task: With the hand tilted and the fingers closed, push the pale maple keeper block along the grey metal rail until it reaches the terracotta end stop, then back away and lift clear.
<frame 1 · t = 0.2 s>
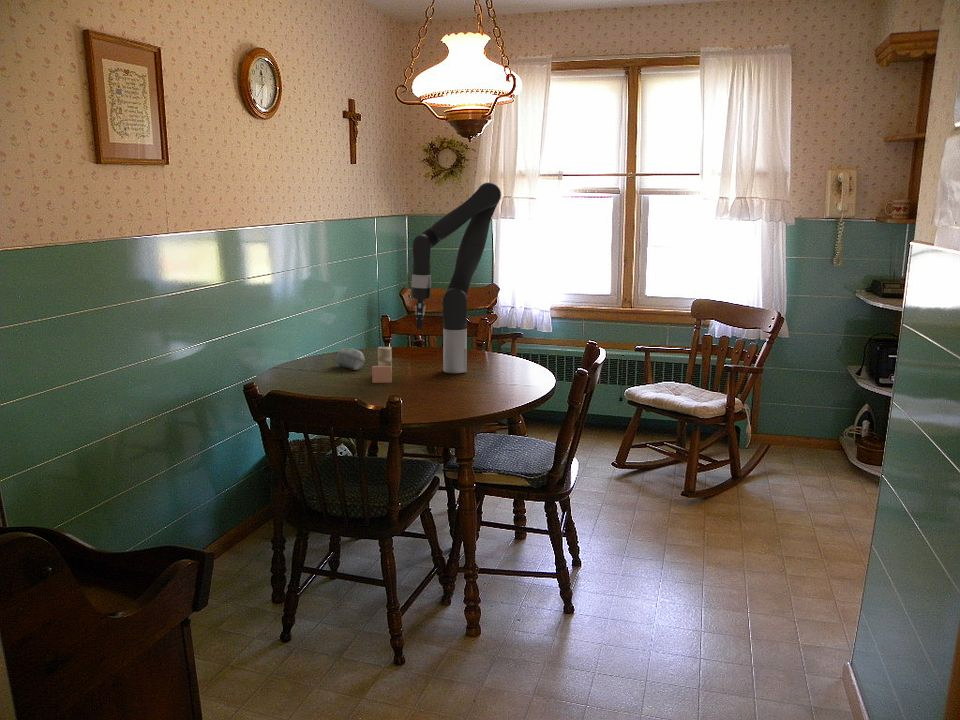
hand: (419, 327, 303), 18 cm above the table, fingers open, 8 cm apart
keeper: (384, 361, 297), point 6 cm above the table, slide at 0.0 cm
grey rounded lump: (350, 368, 310), on the table
rail: (384, 377, 294), on the table
end stop: (382, 382, 287), on the table
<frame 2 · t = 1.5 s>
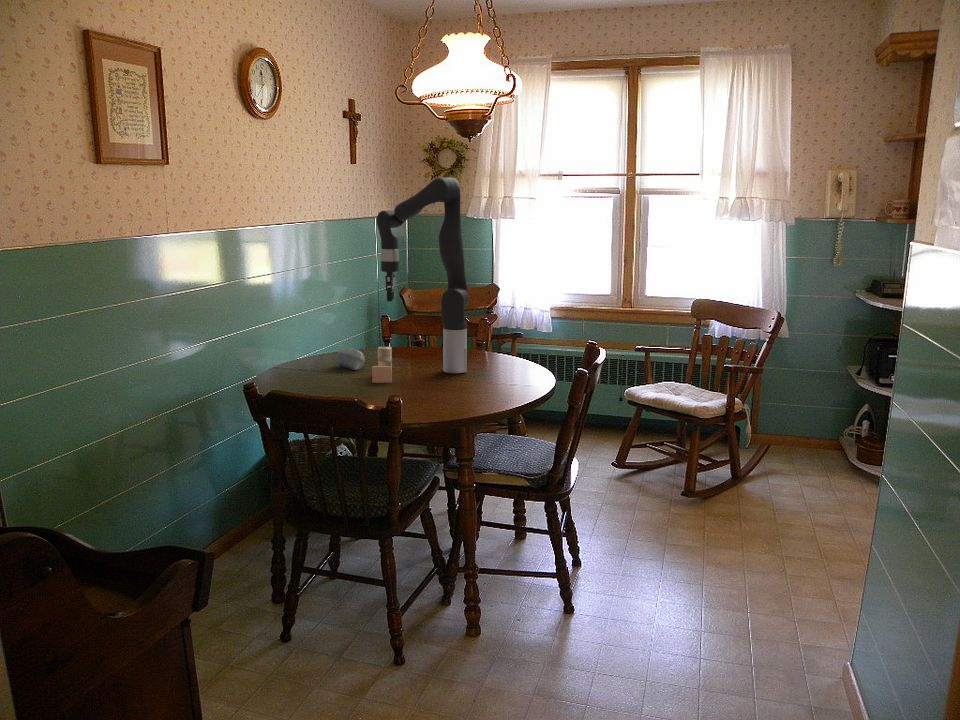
hand: (390, 300, 320), 26 cm above the table, fingers open, 6 cm apart
nothing on the table moved.
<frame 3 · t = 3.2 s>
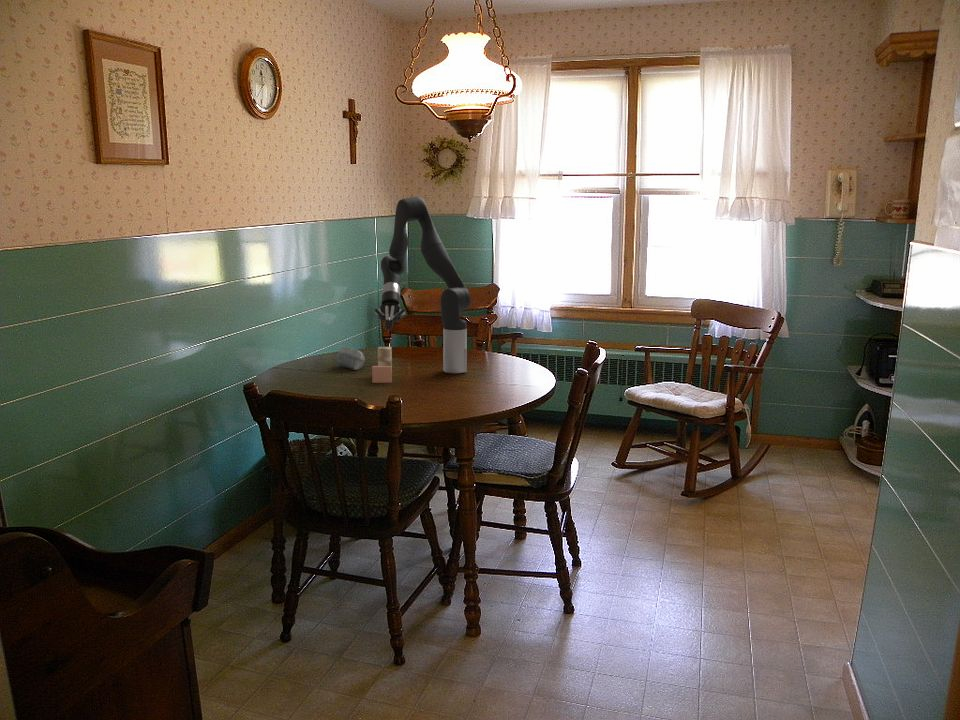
hand: (388, 329, 313), 15 cm above the table, fingers closed
nothing on the table moved.
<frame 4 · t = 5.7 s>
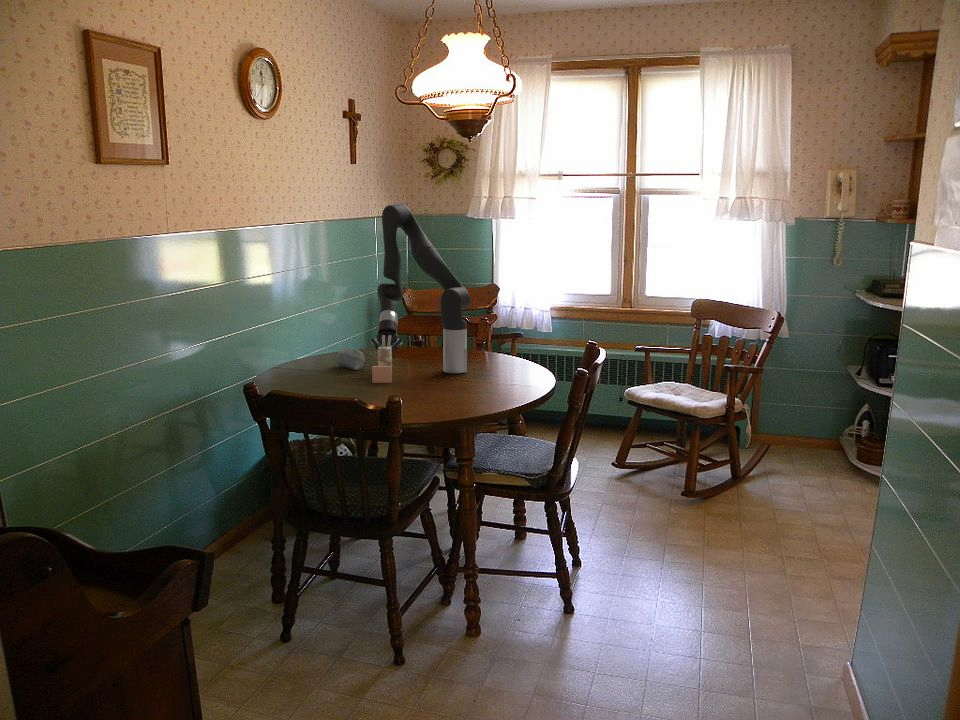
hand: (385, 360, 300), 5 cm above the table, fingers closed
keeper: (384, 361, 297), point 6 cm above the table, slide at 0.0 cm, touching gripper
everything else where it was.
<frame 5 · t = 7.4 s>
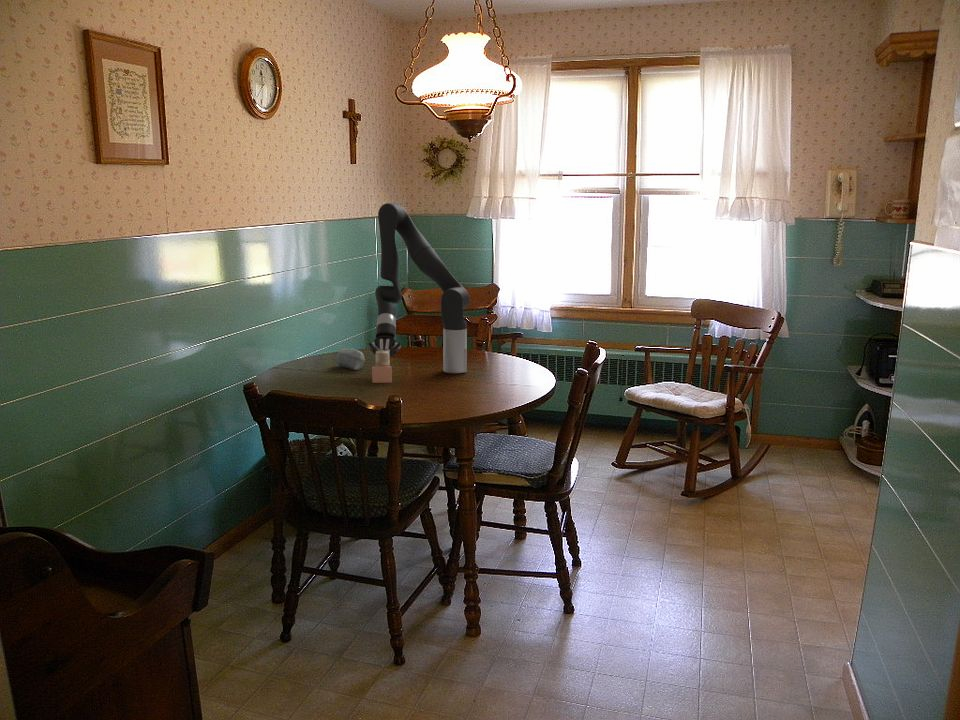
hand: (383, 364, 291), 5 cm above the table, fingers closed
keeper: (382, 365, 289), point 6 cm above the table, slide at 8.6 cm, touching gripper
everything else where it was.
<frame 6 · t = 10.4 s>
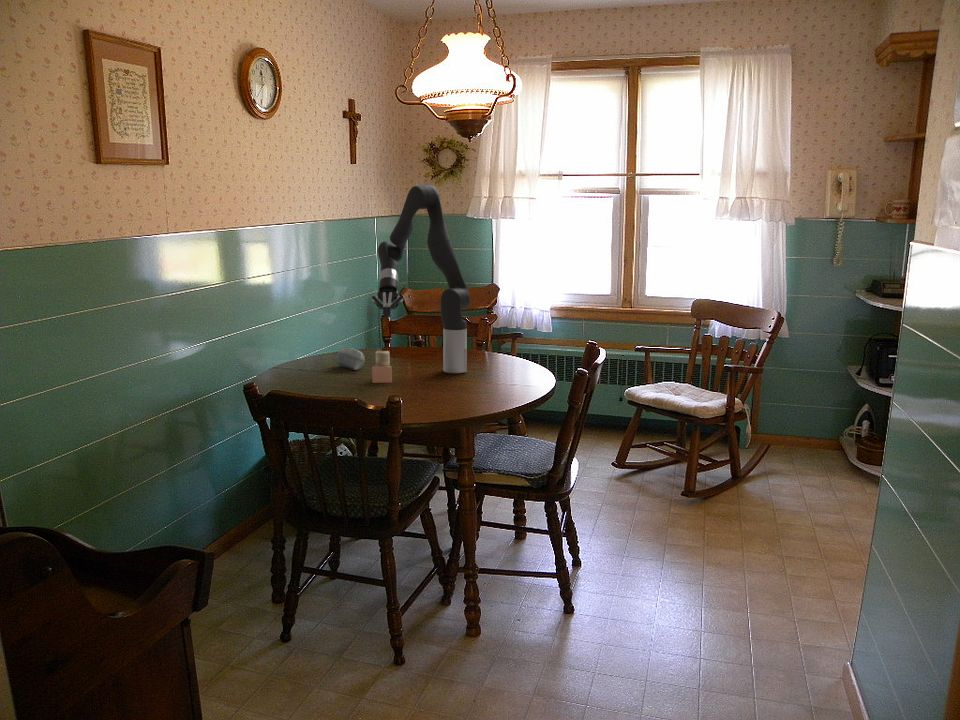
hand: (386, 316, 303), 22 cm above the table, fingers closed
keeper: (382, 365, 289), point 6 cm above the table, slide at 8.5 cm
everything else where it was.
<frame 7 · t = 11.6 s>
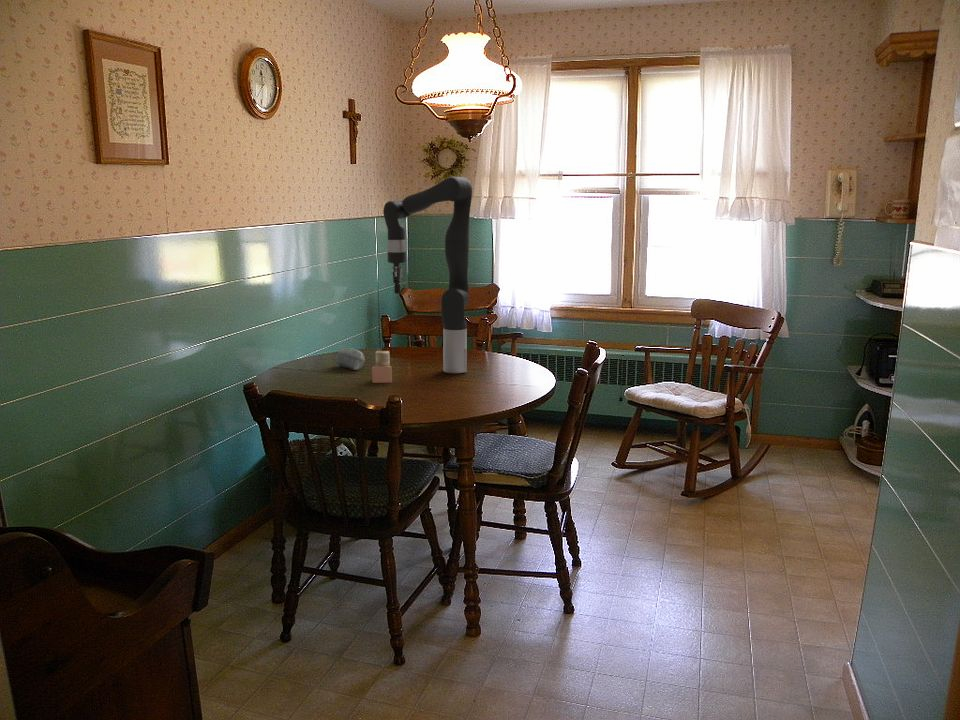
hand: (397, 293, 317), 29 cm above the table, fingers closed
nothing on the table moved.
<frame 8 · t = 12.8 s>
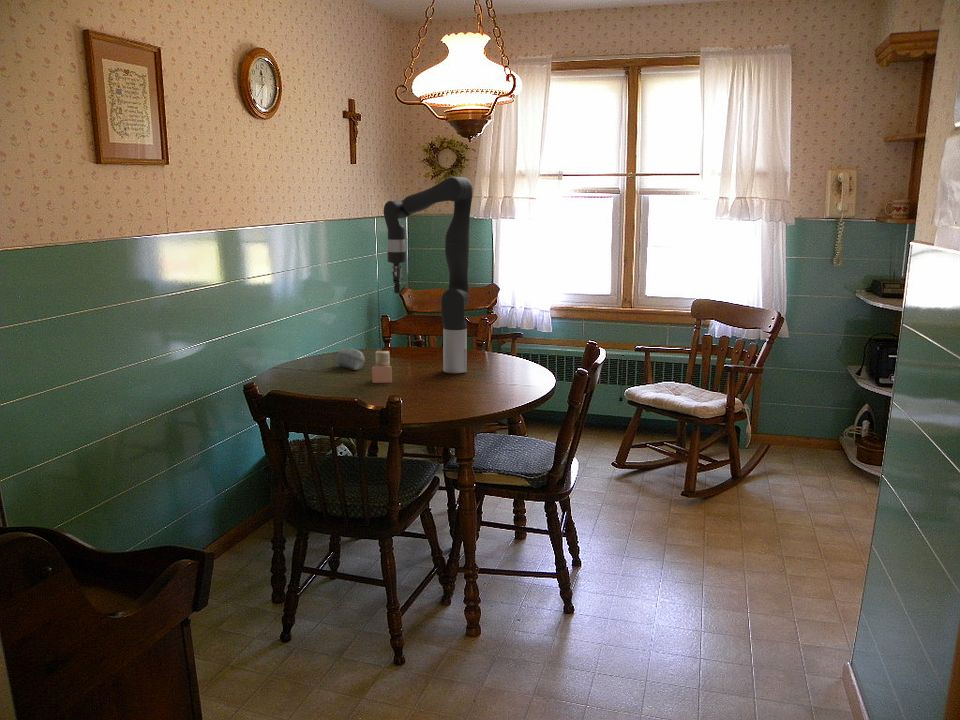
hand: (397, 292, 317), 29 cm above the table, fingers closed
nothing on the table moved.
at the end: keeper slide at 8.5 cm; the gripper is holding nothing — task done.
